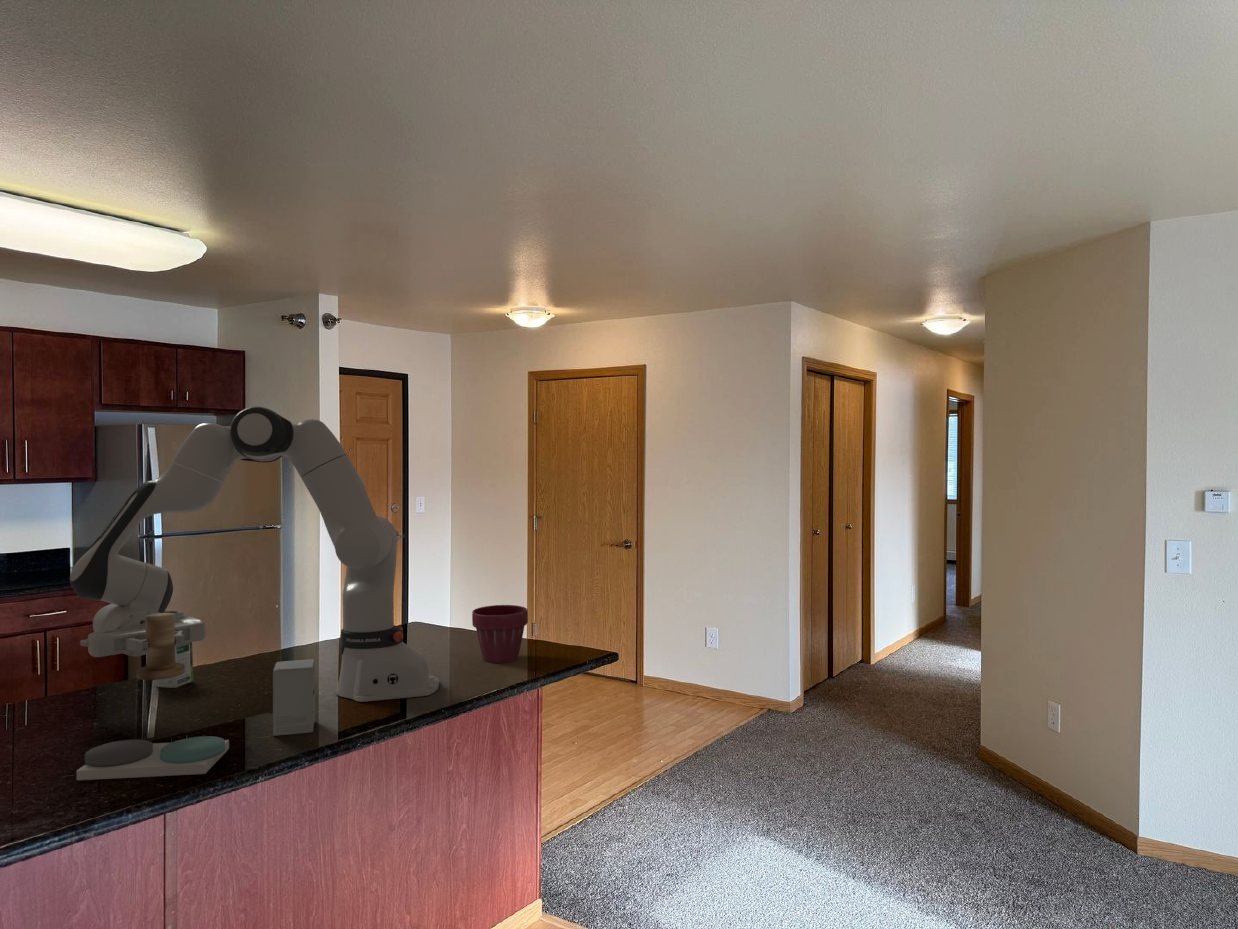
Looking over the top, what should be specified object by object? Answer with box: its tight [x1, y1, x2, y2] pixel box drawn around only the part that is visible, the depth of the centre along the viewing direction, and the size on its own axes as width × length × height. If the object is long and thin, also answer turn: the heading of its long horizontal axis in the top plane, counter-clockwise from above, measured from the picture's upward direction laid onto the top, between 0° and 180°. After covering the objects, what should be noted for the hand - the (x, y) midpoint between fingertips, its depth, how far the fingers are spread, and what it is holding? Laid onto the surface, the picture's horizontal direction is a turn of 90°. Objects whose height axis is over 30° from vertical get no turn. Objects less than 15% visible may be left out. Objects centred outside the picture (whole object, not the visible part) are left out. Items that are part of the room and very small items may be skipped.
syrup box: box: [154, 642, 194, 689], centre depth 196 cm, size 6×6×14 cm
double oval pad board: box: [76, 735, 230, 781], centre depth 145 cm, size 22×12×3 cm, turn 97°
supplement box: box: [272, 658, 316, 737], centre depth 164 cm, size 7×7×13 cm
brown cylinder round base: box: [136, 613, 185, 681], centre depth 159 cm, size 8×8×11 cm
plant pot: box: [471, 604, 529, 664], centre depth 218 cm, size 14×14×13 cm
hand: (162, 643), depth 159 cm, fingers closed on brown cylinder round base, 5 cm apart
